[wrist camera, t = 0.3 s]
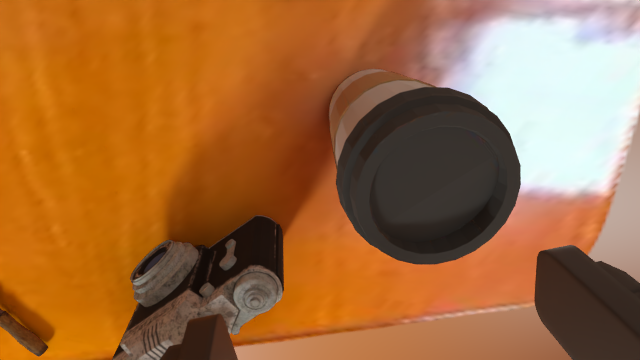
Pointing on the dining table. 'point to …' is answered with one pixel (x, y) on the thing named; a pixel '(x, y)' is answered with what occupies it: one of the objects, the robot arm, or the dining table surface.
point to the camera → (203, 286)
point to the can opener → (22, 334)
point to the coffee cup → (420, 166)
